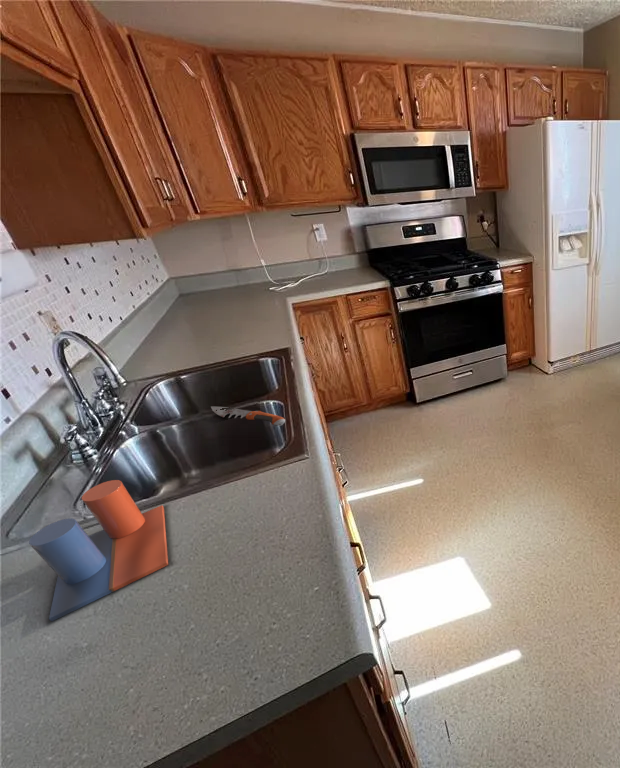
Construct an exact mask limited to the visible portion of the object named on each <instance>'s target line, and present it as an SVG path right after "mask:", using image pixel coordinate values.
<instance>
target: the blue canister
mask: <svg viewBox="0 0 620 768" xmlns="http://www.w3.org/2000/svg"><path fill="white" fill-rule="evenodd" d="M89 536H90V535H89V534H88V533H87V532H86V531H85V530H84V528H83V527H82V526H81V525H80V523H79V522H78V521H77V520H76V519H75V518H73V517H72V518H63V519H60V520H57V521H54V522H52V523H50V524H48V525H46V526H44V527H43V528H41V529H39V530H38V531H37V532H35V534H33V535H32V536H31V537H30V539H29V541H28V545H30V547H31V548H32V549H33V550H34V551H35V552H36V553H37V554H38V555H39V556H40V557H41V559H42V560H43V561H44V562H45V563H46V564H47V565H48V566H49V567H50V568H51V570H52V571H53V572H54V573H55V574H56V576H57V577H58V576H59V577H60V578H61V579H62V580H63V582H64V583H66V584H75V583H78V582H81V581H83V580H86V579H88V578H89V577H91V576H93V575H94V574H96V573H97V572H98V571H99V570H100V569H101V568H102V567H103V566H104V565H105V563H106V557H105V556H104V555H103V554H102V552H101V551H100V550H99V549H98V547H97V546H96V545H95V544H94V542H93V541H92V540H91V539H90V537H89Z"/></svg>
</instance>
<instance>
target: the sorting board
mask: <svg viewBox="0 0 620 768" xmlns="http://www.w3.org/2000/svg"><path fill="white" fill-rule="evenodd" d="M141 513H142V512H141ZM142 515H143V516H144V518H145V522H144V524H143V525H142V526H141V527H140V528H139V529H138V530H136V531H135V532H133V533H131V534H129V535H127V536H125V537H121V538H117V539H112V538H109V537H108V535H107V534H106V532H105V531H104V530H103V529H101V530H99V531H97V532H95V533H92V534H89V535H88V536H89V537H90V539H91V540H92V541H93V542H94V544H95V545H96V546H97V547H98V549H99V550H100V551H101V552H102V554H103V555H104V556H105V557H106V563H105V565H104V566H103V567H102V568H101V569H100V570H99V571H98V572H97V573H96V574H94V575H93V576H91V577H89V578H88V579H86V580H83V581H81V582H78V583H75V584H66V583H64V582H63V580H62V579H61V578H60V577H59V576H58V575H57V579H56V584H55V586H54V587H55V588H54V592H53V597H52V602H51V606H50V612H49V616H48V619H49V621H50V622H54V621H56V620H58V619H60V618H62V617H64V616H66V615H68V614H70V613H73V612H74V611H76V610H79V609H82V607H85V606H87V605H89V604H91V603H93V602H95V601H97V600H99V599H101V598H103V597H105V596H107V595H109V594H111V593H113V592H116V591H117V590H120V589H122V588H125V587H126V586H128V585H130V584H133V583H134V582H136V581H138V580H140V579H143V578H144V577H147V576H148V575H151V574H153V573H154V572H157V571H159V570H161V569H163V568H165V567H168V566H169V557H168V555H169V554H168V543H167V532H166V531H167V530H166V518H165V517H166V516H165V507H164V506H163V505H159V506H157V507H154V508H152V509H150V510H147V511H145V512H143V513H142Z"/></svg>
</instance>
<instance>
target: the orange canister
mask: <svg viewBox="0 0 620 768" xmlns="http://www.w3.org/2000/svg"><path fill="white" fill-rule="evenodd" d="M81 500H82V502H83V503H84V505H85V507H86V508H87V509H88V510H89V512H90V513H91V515H92V516H93V517H94V518H95V520H96V522H97V523H98V524H99V526H100V527H101V528H102V530H104V531H105V532H106V534H107V535H108V537H109V538H112V539H117V538H121V537H125V536H127V535H129V534H131V533H133V532H135V531H136V530H138V529H139V528H140V527H141V526H142V525H143V524H144V522H145V518H144V516H143V515H142V511H141V510H140V508H139V507H138V505H137V504H136V502H135V500H134V498H133V497H132V495H131V494H130V493H129V491H128V489H127V488H126V486H125V485H124V483H123V482H122V480H119V479H113V480H112V479H111V480H108V481H104V482H101V483H98V484H96V485H95V486H92V487H91V488H89V489H88V490H86V491H85V492H84V493H83V494H82V495H81Z"/></svg>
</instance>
